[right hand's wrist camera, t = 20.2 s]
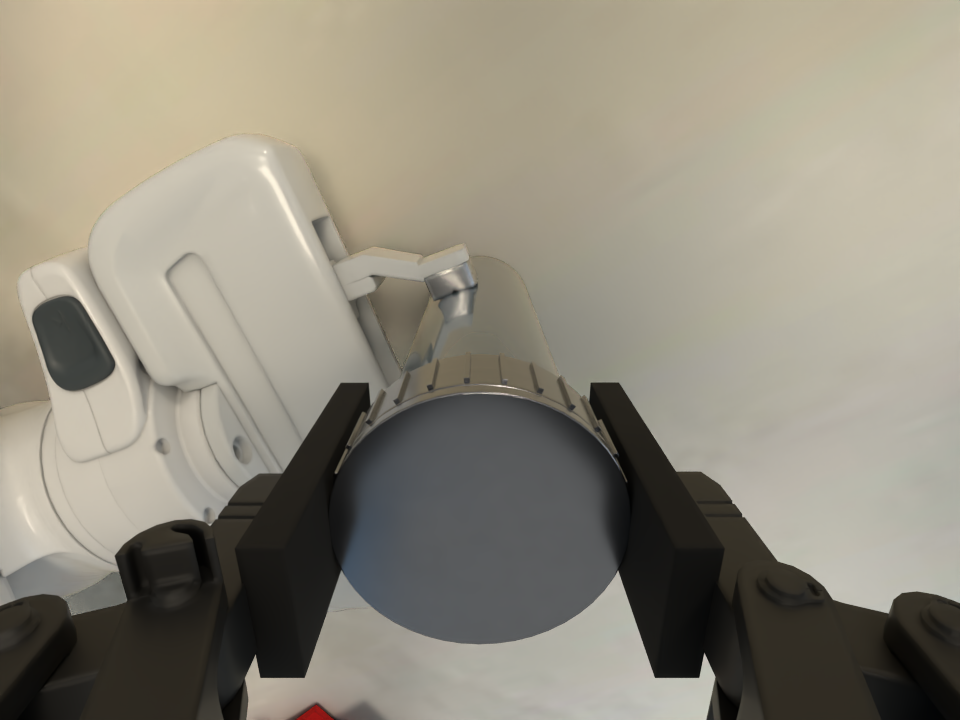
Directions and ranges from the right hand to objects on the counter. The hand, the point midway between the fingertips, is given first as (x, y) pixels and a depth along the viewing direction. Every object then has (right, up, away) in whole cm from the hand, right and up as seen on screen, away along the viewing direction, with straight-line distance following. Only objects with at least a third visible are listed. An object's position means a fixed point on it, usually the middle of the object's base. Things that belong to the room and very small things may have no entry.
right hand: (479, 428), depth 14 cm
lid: (0, -1, -4) cm, 4 cm away
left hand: (+1, +3, +7) cm, 7 cm away
